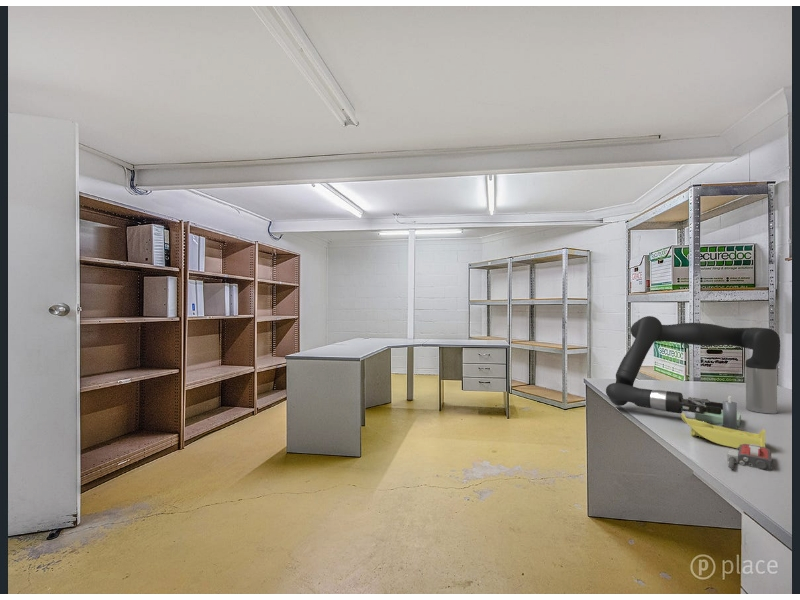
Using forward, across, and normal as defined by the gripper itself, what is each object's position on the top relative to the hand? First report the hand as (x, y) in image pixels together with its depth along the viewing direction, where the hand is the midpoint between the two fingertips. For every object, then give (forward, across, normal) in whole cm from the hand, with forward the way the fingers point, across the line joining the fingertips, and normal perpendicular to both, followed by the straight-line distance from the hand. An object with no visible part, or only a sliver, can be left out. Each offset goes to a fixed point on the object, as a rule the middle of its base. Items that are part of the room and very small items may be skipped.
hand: (722, 408), depth 134 cm
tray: (-2, +10, +6) cm, 12 cm away
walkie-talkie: (+8, -35, +7) cm, 37 cm away
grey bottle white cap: (+2, 0, +6) cm, 7 cm away
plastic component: (+1, -18, +7) cm, 19 cm away
